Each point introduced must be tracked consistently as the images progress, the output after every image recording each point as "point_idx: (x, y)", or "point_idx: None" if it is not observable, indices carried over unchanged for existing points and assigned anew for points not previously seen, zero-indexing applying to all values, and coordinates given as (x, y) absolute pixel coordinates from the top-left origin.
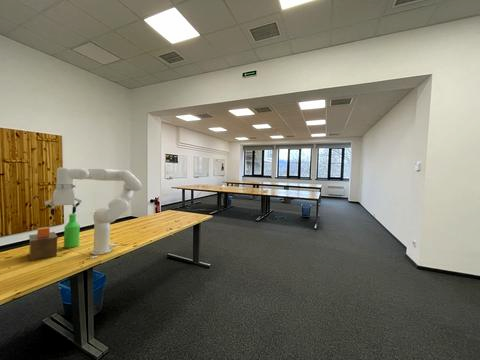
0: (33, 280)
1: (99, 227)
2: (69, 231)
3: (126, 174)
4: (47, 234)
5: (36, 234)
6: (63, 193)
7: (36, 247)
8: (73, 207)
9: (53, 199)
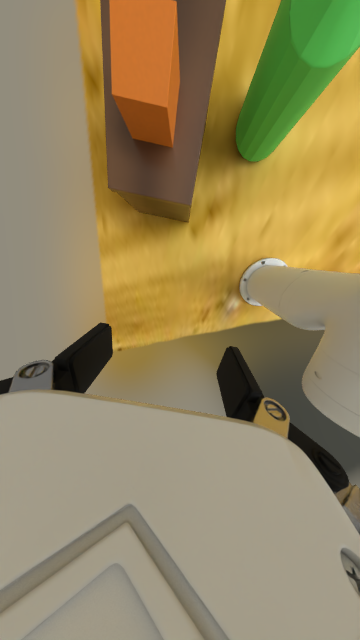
0: (134, 328)
1: (295, 323)
2: (278, 86)
3: None
4: (164, 139)
5: None
6: None
7: (137, 201)
8: (238, 413)
9: None
